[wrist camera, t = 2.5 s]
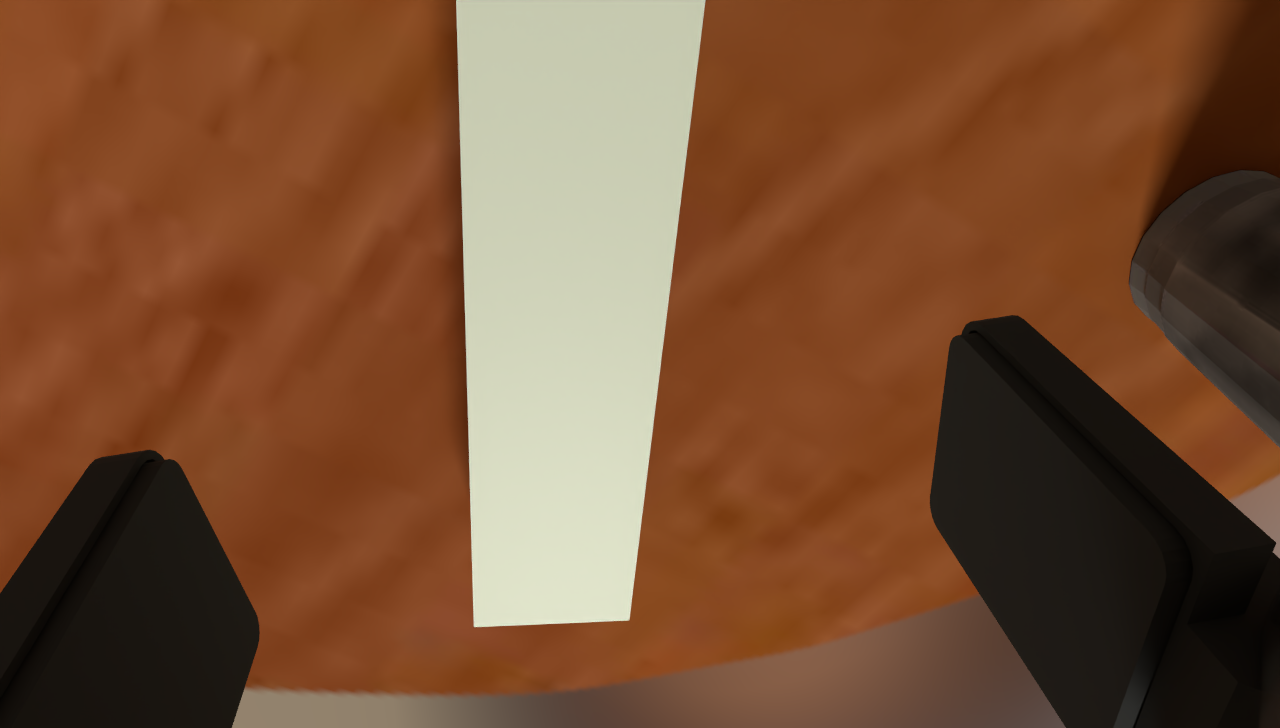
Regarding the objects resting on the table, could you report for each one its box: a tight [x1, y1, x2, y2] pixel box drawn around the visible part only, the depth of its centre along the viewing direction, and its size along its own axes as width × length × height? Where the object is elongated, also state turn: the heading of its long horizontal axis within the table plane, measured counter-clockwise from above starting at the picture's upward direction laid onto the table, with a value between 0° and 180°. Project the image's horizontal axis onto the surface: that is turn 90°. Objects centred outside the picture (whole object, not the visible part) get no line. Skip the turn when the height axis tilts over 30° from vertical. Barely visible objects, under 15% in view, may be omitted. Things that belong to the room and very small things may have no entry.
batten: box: [456, 0, 705, 627], centre depth 17 cm, size 22×4×4 cm, turn 175°
